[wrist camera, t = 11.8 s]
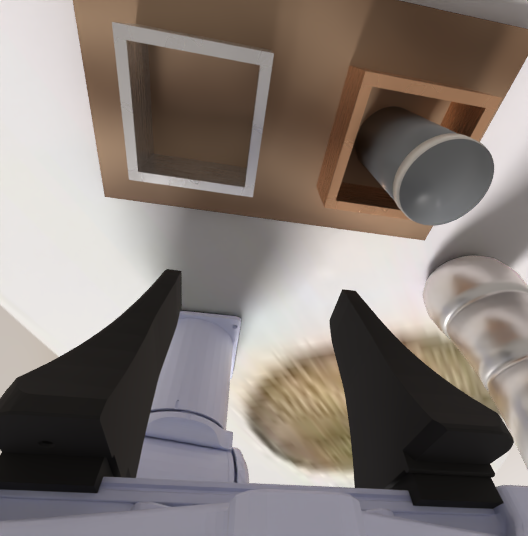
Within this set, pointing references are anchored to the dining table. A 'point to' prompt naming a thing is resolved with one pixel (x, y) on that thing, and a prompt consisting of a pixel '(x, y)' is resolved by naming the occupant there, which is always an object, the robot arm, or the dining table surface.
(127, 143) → the steel collar
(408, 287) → the dining table surface
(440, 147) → the grey domed cylinder
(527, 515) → the robot arm
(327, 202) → the copper collar
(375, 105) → the walnut board
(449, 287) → the plastic bottle
